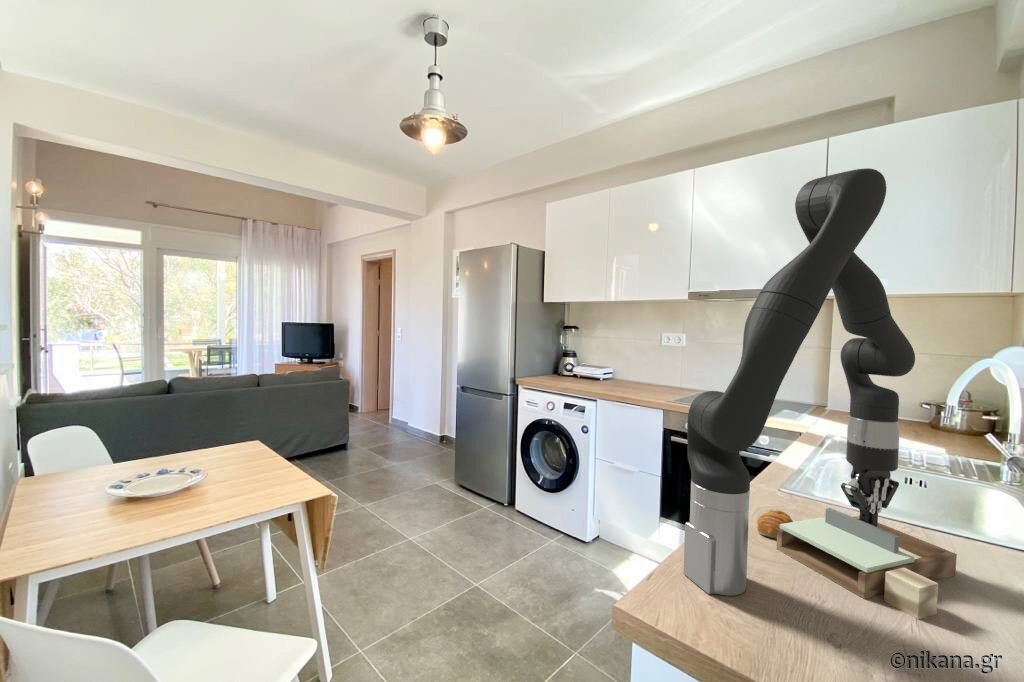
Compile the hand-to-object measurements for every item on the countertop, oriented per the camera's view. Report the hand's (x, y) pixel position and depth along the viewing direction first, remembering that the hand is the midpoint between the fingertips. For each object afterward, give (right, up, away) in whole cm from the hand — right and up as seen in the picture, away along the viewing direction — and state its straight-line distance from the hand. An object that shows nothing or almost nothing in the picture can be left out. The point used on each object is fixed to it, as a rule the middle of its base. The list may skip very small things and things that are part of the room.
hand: (868, 529), depth 80 cm
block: (-5, -7, -13) cm, 16 cm away
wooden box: (-2, -6, 0) cm, 6 cm away
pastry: (-11, -6, +11) cm, 17 cm away
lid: (-7, -2, -2) cm, 7 cm away
